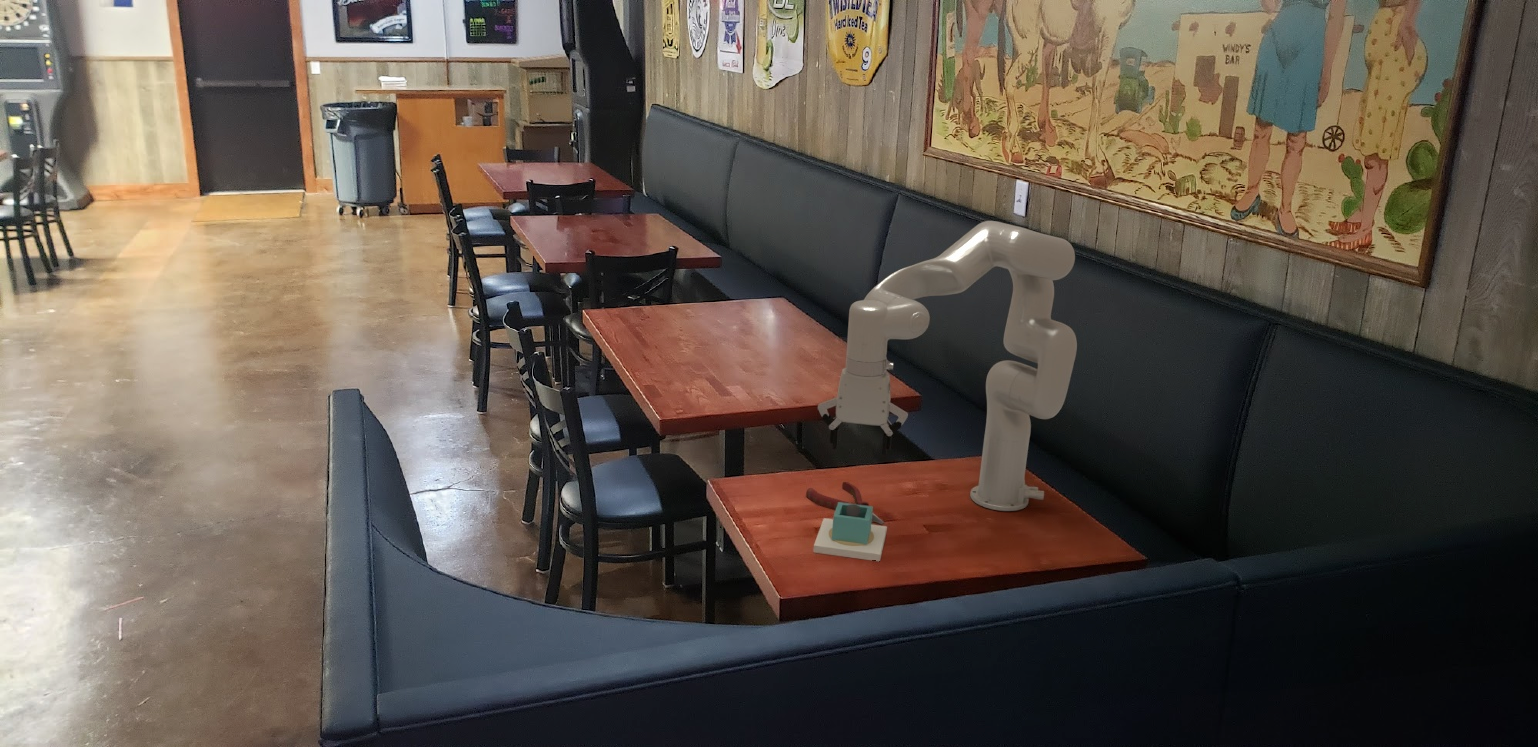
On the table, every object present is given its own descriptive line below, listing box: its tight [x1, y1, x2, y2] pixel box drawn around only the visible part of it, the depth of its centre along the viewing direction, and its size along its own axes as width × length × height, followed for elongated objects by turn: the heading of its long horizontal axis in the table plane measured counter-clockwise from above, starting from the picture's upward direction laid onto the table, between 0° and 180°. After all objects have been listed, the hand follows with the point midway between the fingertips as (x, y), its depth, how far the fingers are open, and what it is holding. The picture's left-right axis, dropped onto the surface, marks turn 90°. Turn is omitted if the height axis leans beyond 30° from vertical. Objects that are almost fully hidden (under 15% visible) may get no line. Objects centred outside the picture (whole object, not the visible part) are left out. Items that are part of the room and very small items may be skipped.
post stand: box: [812, 503, 888, 562], centre depth 225 cm, size 13×13×8 cm
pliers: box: [805, 481, 885, 525], centre depth 241 cm, size 12×20×3 cm, turn 30°
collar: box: [832, 502, 874, 544], centre depth 225 cm, size 7×7×5 cm
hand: (859, 449), depth 220 cm, fingers open, 9 cm apart
